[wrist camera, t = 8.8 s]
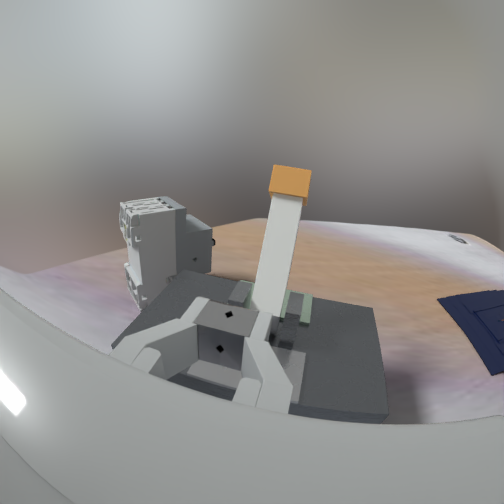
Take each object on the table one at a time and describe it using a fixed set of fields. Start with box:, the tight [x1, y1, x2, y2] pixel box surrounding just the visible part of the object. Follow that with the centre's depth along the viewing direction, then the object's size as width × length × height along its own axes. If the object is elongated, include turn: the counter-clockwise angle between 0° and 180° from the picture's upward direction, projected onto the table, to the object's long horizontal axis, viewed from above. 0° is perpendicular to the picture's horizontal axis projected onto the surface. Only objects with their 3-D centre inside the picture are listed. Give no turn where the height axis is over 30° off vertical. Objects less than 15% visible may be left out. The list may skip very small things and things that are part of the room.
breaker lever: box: [250, 165, 311, 333], centre depth 23 cm, size 3×3×14 cm
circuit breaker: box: [119, 196, 215, 312], centre depth 42 cm, size 8×14×15 cm, turn 128°
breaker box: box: [111, 269, 389, 424], centre depth 24 cm, size 22×14×14 cm, turn 76°
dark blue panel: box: [437, 290, 504, 375], centre depth 37 cm, size 24×30×4 cm
